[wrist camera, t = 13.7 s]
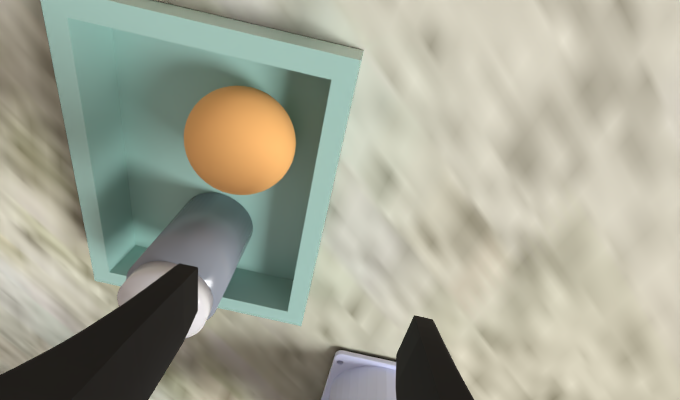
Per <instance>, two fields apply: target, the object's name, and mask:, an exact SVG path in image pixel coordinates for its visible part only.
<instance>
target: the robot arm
mask: <svg viewBox="0 0 680 400" xmlns="http://www.w3.org/2000/svg"><path fill="white" fill-rule="evenodd" d="M197 312H198V267H195V266H190V265H186V264H181V263H179V264H177V265H176V266H174V267H173V268H172V269H170V270H169V271H168V272H166V273H165V274H164V275H162V276H161V277H160V278H158V279H157V280H156V281H154V282H153V283H152V284H150V285H149V286H148V287H146V288H145V289H144V290H142V291H141V292H139V293H138V294H137V295H135V296H134V297H132V298H131V299H130V300H128V301H127V302H125V303H124V304H122V305H121V306H120V307H118V308H117V309H115V310H114V311H112V312H111V313H109V314H108V315H106V316H104V317H103V318H101V319H100V320H98V321H97V322H95V323H94V324H92V325H90V326H89V327H87V328H86V329H84V330H83V331H81V332H79V333H78V334H76V335H74V336H73V337H71V338H69V339H67V340H66V341H64V342H62V343H60V344H59V345H57V346H55V347H53V348H52V349H50V350H48V351H46V352H44V353H42V354H41V355H39V356H37V357H35V358H33V359H31V360H29V361H27V362H25V363H23V364H21V365H19V366H17V367H16V368H14V369H12V370H10V371H8V372H6V373H3V374H1V375H0V400H148V399H149V398H150V396H151V394H152V393H153V391H154V390H155V388H156V386H157V385H158V383H159V381H160V380H161V378H162V376H163V375H164V373H165V372H166V370H167V368H168V367H169V365H170V363H171V362H172V360H173V358H174V357H175V355H176V353H177V352H178V350H179V348H180V347H181V345H182V343H183V342H184V340H185V338H186V336H187V334H188V332H189V329H190V327H191V325H192V323H193V321H194V318H195V316H196V314H197ZM321 400H474V399H473V397H472V395H471V393H470V392H469V390H468V388H467V386H466V384H465V382H464V381H463V379H462V377H461V375H460V373H459V371H458V370H457V368H456V366H455V364H454V362H453V360H452V358H451V356H450V354H449V352H448V350H447V348H446V346H445V344H444V342H443V340H442V338H441V335H440V333H439V331H438V329H437V327H436V325H435V323H434V321H433V320H432V319H428V318H424V317H419V316H415V315H414V317H413V319H412V322H411V324H410V326H409V328H408V330H407V333H406V335H405V337H404V339H403V341H402V344H401V346H400V348H399V350H398V352H397V355H396V362H394V361H389V360H385V359H380V358H375V357H371V356H366V355H362V354H357V353H353V352H348V351H344V350H339V351H337V352H336V353H335V356H334V359H333V362H332V365H331V369H330V372H329V375H328V378H327V381H326V384H325V388H324V391H323V394H322V397H321Z"/></svg>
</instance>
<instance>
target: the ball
mask: <svg viewBox="0 0 680 400" xmlns="http://www.w3.org/2000/svg"><path fill="white" fill-rule="evenodd" d="M184 147H185V151H186V155H187V158H188V160H189V162H190V164H191V166H192V168H193V169H194V170H195V172H196V173H197V174H198V176H199V177H200V178H201V179H203V180H204V181H205V182H206V183H207V184H209V185H210V186H212V187H213V188H215V189H218V190H220V191H222V192H225V193H229V194H234V195H250V194H255V193H259V192H262V191H265V190H267V189H269V188H270V187H272V186H273V185H275V184H276V183H277V182H279V181H280V180H281V179H282V178H283V176H284V175H285V174H286V173H287V171H288V169H289V168H290V166H291V164H292V161H293V158H294V154H295V148H296V137H295V131H294V127H293V124H292V122H291V119H290V117H289V115H288V114H287V112H286V111H285V109H284V108H283V107H282V106H281V105H280V104H279V103H278V102H277V101H276V100H275V99H274V98H273V97H271V96H270V95H268V94H267V93H265V92H263V91H261V90H258V89H256V88H252V87H247V86H227V87H222V88H219V89H216V90H214V91H212V92H210V93H209V94H207V95H206V96H204V97H203V98H202V99H201V100H200V101H199V102H197V104H196V105H195V106H194V107H193V109H192V111H191V112H190V114H189V116H188V118H187V121H186V124H185V129H184Z"/></svg>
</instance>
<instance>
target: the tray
mask: <svg viewBox="0 0 680 400" xmlns="http://www.w3.org/2000/svg"><path fill="white" fill-rule="evenodd" d="M40 1H41V6H42V11H43V16H44V21H45V27H46V32H47V37H48V42H49V47H50V52H51V57H52V62H53V68H54V73H55V78H56V83H57V88H58V93H59V98H60V103H61V109H62V114H63V119H64V124H65V129H66V134H67V139H68V144H69V150H70V155H71V160H72V165H73V170H74V175H75V180H76V185H77V191H78V196H79V201H80V206H81V211H82V216H83V221H84V226H85V232H86V237H87V242H88V247H89V252H90V257H91V262H92V267H93V273H94V278H95V281H99V282H103V283H108V284H112V285H117V286H122V284H123V283H124V282H125V281H126V276H127V273H128V271H129V269H130V268H131V267H132V266H133V264H134V263H135V262H136V261H137V260H138V259H139V258H140V256H141V255H142V254H143V253H144V252H145V251H146V249H147V248H148V247H149V246H150V245H151V244H152V243H153V241H154V240H155V239H156V238H157V237H158V236H159V234H160V233H161V232H162V231H163V230H164V229H165V227H166V226H167V225H168V224H169V223H170V222H171V221H172V219H173V218H174V217H175V216H176V215H177V214H178V212H179V211H180V210H181V209H182V208H183V207H184V206H185V204H186V203H187V202H188V201H189V200H190V199H191V198H193V197H194V196H196V195H198V194H201V193H209V192H212V193H220V194H223V195H226V196H229V197H231V198H233V199H234V200H236V201H237V202H239V203H240V204H241V205H242V206H243V207H244V208H245V209H246V211H247V212H248V213H249V215H250V217H251V220H252V223H253V233H252V236H251V239H250V241H249V243H248V245H247V247H246V249H245V251H244V253H243V255H242V257H241V259H240V262H239V264H238V266H237V268H236V270H235V272H234V274H233V276H232V278H231V280H230V282H229V284H228V286H227V288H226V290H225V293H224V295H223V297H222V299H221V301H220V303H219V305H218V307H217V308H221V309H226V310H231V311H235V312H240V313H244V314H249V315H253V316H258V317H262V318H267V319H271V320H276V321H280V322H285V323H290V324H294V325H299V326H301V325H302V320H303V316H304V312H305V308H306V303H307V299H308V295H309V291H310V286H311V282H312V277H313V273H314V268H315V264H316V259H317V255H318V251H319V246H320V242H321V237H322V233H323V228H324V224H325V219H326V215H327V211H328V206H329V202H330V197H331V193H332V188H333V184H334V179H335V175H336V171H337V166H338V162H339V157H340V153H341V148H342V144H343V139H344V135H345V131H346V126H347V122H348V117H349V113H350V108H351V104H352V99H353V95H354V91H355V86H356V82H357V77H358V73H359V68H360V64H361V59H362V55H363V51H364V50H360V49H356V48H352V47H348V46H343V45H339V44H335V43H331V42H327V41H322V40H318V39H314V38H310V37H306V36H301V35H297V34H293V33H289V32H285V31H280V30H276V29H272V28H268V27H264V26H259V25H255V24H251V23H247V22H243V21H238V20H234V19H230V18H226V17H222V16H217V15H213V14H209V13H205V12H201V11H196V10H192V9H188V8H184V7H180V6H175V5H171V4H167V3H163V2H159V1H154V0H40ZM227 86H247V87H252V88H256V89H258V90H261V91H263V92H265V93H267V94H268V95H270V96H271V97H273V98H274V99H275V100H276V101H277V102H278V103H279V104H280V105H281V106H282V107H283V108H284V109H285V111H286V112H287V114H288V115H289V117H290V119H291V122H292V124H293V127H294V131H295V137H296V148H295V154H294V158H293V161H292V164H291V166H290V168H289V169H288V171H287V173H286V174H285V175H284V176H283V178H282V179H281V180H280V181H279V182H277V183H276V184H275V185H273V186H272V187H270V188H269V189H267V190H265V191H262V192H259V193H255V194H250V195H234V194H229V193H225V192H222V191H220V190H218V189H215V188H213V187H212V186H210V185H209V184H207V183H206V182H205V181H204V180H203V179H201V178H200V177H199V176H198V174H197V173H196V172H195V170H194V169H193V168H192V166H191V164H190V162H189V160H188V158H187V155H186V151H185V147H184V129H185V124H186V121H187V118H188V116H189V114H190V112H191V111H192V109H193V107H194V106H195V105H196V104H197V102H199V101H200V100H201V99H202V98H203V97H204V96H206V95H207V94H209V93H210V92H212V91H214V90H216V89H219V88H222V87H227Z"/></svg>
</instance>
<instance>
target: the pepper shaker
mask: <svg viewBox="0 0 680 400" xmlns="http://www.w3.org/2000/svg"><path fill="white" fill-rule="evenodd" d="M252 233H253V223H252V220H251V217H250V215H249V213H248V212H247V211H246V209H245V208H244V207H243V206H242V205H241V204H240V203H239V202H237V201H236V200H234V199H233V198H231V197H229V196H226V195H223V194H220V193H212V192H209V193H201V194H198V195H196V196H194V197H193V198H191V199H190V200H189V201H188V202H187V203H186V204H185V206H184V207H183V208H182V209H181V210H180V211H179V212H178V214H177V215H176V216H175V217H174V218H173V219H172V221H171V222H170V223H169V224H168V225H167V226H166V227H165V229H164V230H163V231H162V232H161V233H160V234H159V236H158V237H157V238H156V239H155V240H154V241H153V243H152V244H151V245H150V246H149V247H148V248H147V249H146V251H145V252H144V253H143V254H142V255H141V256H140V258H139V259H138V260H137V261H136V262H135V263H134V264H133V266H132V267H131V268H130V269H129V271H128V273H127V276H126V281H125V282H124V283H123V284H122V286H121V287H120V289H119V291H118V295H117V300H118V304H119V307H120V306H121V305H122V304H124V303H125V302H127V301H128V300H130V299H131V298H132V297H134V296H135V295H137V294H138V293H139V292H141V291H142V290H144V289H145V288H146V287H148V286H149V285H150V284H152V283H153V282H154V281H156V280H157V279H158V278H160V277H161V276H162V275H164V274H165V273H166V272H168V271H169V270H170V269H172V268H173V267H174V266H176V265H177V264H179V263H181V264H186V265H190V266H195V267H198V312H197V314H196V316H195V318H194V321H193V323H192V325H191V327H190V329H189V332H188V334H187V336H186V338H188V337H191V336H193V335H195V334H197V333H198V332H199V331H200V330H201V329H202V328H203V326H204V324H205V322H206V320H208V319H209V318H210V317H211V316H212V315H213V314H214V313H215V311H216V309H217V307H218V305H219V303H220V301H221V299H222V297H223V295H224V293H225V290H226V288H227V286H228V284H229V282H230V280H231V278H232V276H233V274H234V272H235V270H236V268H237V266H238V264H239V262H240V259H241V257H242V255H243V253H244V251H245V249H246V247H247V245H248V243H249V241H250V239H251V236H252Z"/></svg>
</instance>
